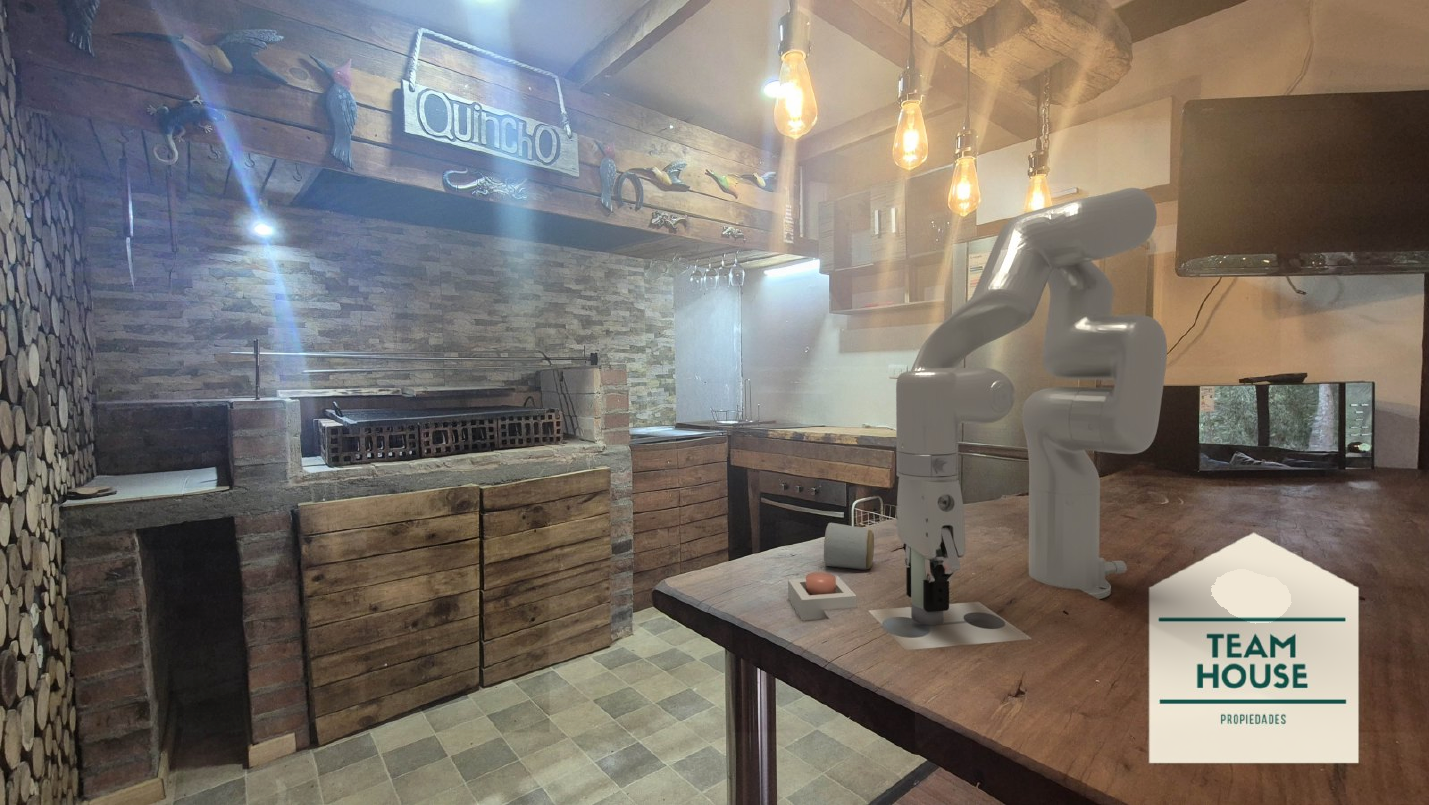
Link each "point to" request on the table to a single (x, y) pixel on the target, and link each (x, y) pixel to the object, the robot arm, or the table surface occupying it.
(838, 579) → the button housing
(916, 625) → the board
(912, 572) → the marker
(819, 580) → the button
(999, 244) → the robot arm
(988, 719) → the table surface
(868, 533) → the ceramic mug
